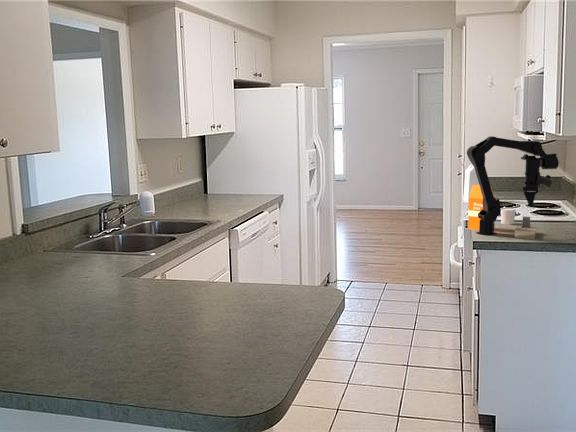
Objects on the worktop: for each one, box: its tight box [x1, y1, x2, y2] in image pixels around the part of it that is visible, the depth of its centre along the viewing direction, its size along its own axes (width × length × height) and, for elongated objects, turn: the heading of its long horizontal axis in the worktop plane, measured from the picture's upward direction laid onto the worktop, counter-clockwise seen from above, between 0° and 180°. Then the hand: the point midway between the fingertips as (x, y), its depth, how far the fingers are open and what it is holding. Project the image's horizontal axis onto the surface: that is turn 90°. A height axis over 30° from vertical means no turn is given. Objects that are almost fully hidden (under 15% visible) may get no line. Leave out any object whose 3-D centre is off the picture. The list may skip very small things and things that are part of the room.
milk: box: [462, 163, 488, 204], centre depth 380 cm, size 12×12×26 cm
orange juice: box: [467, 185, 483, 231], centre depth 290 cm, size 8×9×20 cm
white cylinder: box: [500, 208, 517, 226], centre depth 304 cm, size 7×7×7 cm
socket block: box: [514, 224, 537, 240], centre depth 274 cm, size 16×8×3 cm, turn 157°
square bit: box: [521, 216, 531, 228], centre depth 276 cm, size 3×3×8 cm
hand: (531, 205), depth 277 cm, fingers open, 9 cm apart
